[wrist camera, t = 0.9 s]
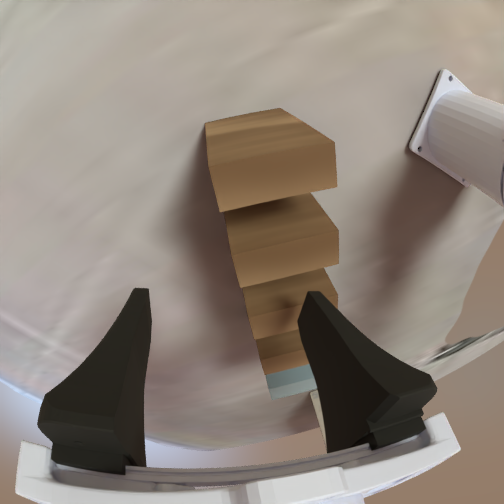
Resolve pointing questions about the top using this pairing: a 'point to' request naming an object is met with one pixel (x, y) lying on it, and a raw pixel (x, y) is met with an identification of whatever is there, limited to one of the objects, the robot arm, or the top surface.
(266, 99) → the top surface
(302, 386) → the slate domino
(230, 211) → the walnut domino
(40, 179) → the top surface
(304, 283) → the walnut domino
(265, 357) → the walnut domino
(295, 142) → the walnut domino
